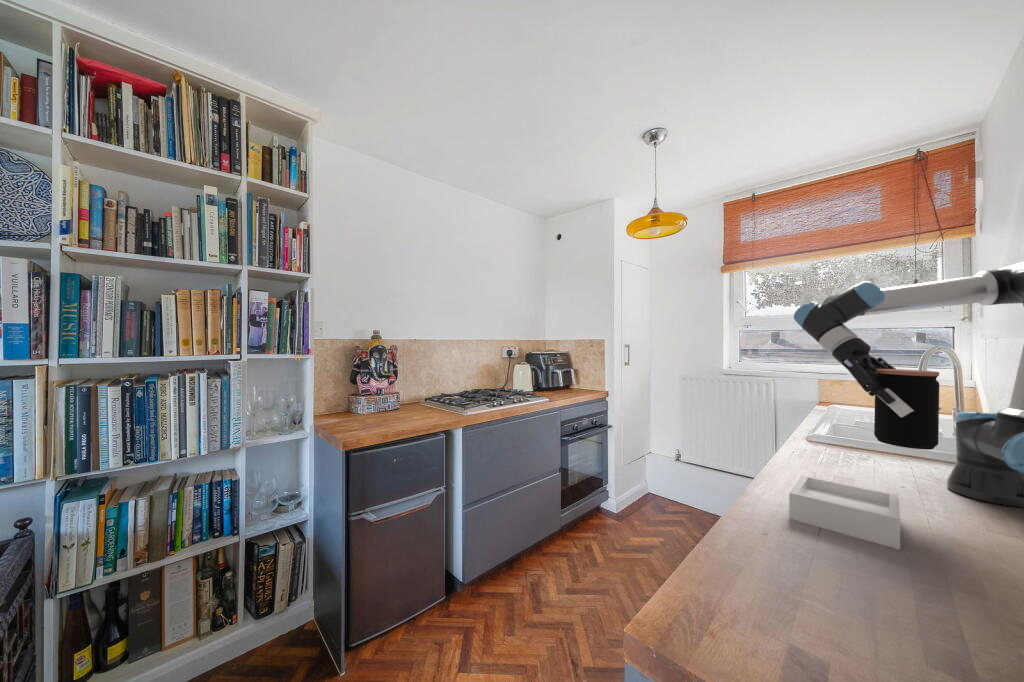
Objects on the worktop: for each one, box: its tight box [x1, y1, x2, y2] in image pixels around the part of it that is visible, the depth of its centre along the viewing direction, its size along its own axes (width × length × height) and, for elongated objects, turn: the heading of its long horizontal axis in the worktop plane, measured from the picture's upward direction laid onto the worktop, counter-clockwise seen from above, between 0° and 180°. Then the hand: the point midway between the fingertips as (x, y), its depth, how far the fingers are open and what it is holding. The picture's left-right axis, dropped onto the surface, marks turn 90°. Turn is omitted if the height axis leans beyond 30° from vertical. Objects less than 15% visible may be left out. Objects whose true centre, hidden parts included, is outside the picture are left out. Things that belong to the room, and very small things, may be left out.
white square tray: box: [788, 474, 901, 550], centre depth 86 cm, size 18×18×6 cm
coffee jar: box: [873, 368, 940, 451], centre depth 90 cm, size 11×11×18 cm
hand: (921, 413), depth 87 cm, fingers closed on coffee jar, 11 cm apart
